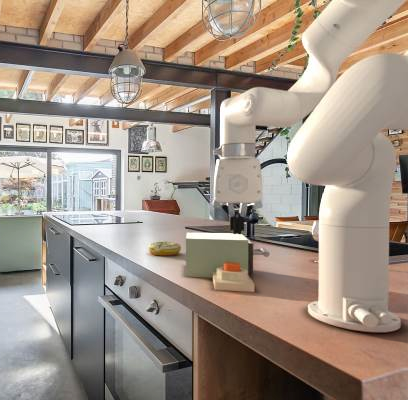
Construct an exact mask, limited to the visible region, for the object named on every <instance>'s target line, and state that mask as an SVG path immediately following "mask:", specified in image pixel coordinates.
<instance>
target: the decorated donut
mask: <svg viewBox="0 0 408 400" xmlns="http://www.w3.org/2000/svg"><path fill="white" fill-rule="evenodd" d="M181 250H182V247H181V244H180V243H177V242H173V241H165V240H163V241H154V242H152V243H150V244H149V245H148V251H149V253H150V254H151V255H152V256H164V257H167V256H169V257H170V256H175V255H178V254H179V253H180V252H181Z"/></svg>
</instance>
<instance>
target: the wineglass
mask: <svg viewBox="0 0 408 400" xmlns="http://www.w3.org/2000/svg"><path fill="white" fill-rule="evenodd" d="M311 235H312V238H313V240H314V241H316V242H318V243H319V220H314V221H313V224H312V230H311ZM314 262H315V263H318V264H319V259H315V260H314Z"/></svg>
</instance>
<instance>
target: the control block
mask: <svg viewBox="0 0 408 400" xmlns="http://www.w3.org/2000/svg"><path fill="white" fill-rule="evenodd" d="M211 279H212V283H213V287H214V290H216V291H233V292H249V293H250V292H251V293H254V292H255V282H254V281H253V280H252V278H251V277H250V275H248V271H247V270H246V269H243V268H240V272H229V271H224V267H219V268H217V272H212V278H211Z"/></svg>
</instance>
